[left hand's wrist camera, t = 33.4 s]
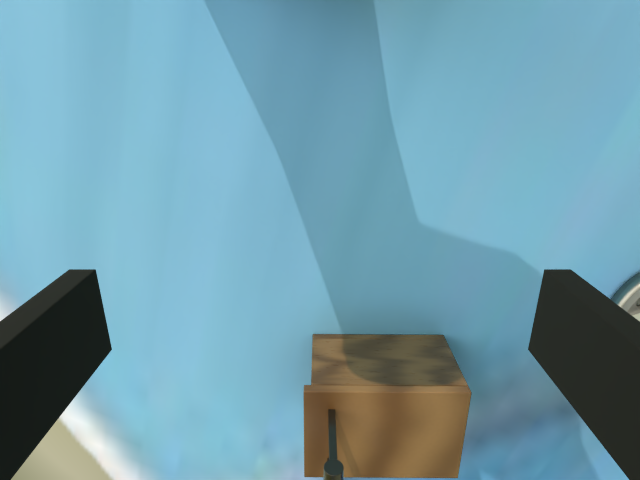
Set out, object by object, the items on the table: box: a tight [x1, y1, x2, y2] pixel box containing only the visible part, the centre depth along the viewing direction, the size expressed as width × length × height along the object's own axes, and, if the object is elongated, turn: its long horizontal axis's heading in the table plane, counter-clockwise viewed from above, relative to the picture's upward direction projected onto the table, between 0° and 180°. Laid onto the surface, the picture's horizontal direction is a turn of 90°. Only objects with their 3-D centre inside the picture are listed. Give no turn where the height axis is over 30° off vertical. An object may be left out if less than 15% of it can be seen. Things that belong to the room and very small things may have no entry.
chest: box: [311, 334, 468, 386], centre depth 47 cm, size 15×11×9 cm
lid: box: [304, 385, 471, 480], centre depth 39 cm, size 16×11×8 cm
